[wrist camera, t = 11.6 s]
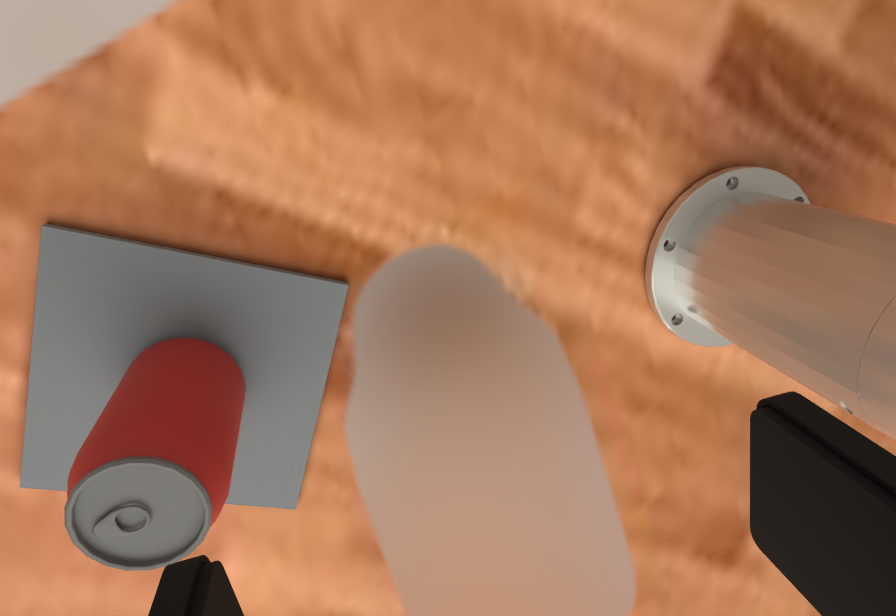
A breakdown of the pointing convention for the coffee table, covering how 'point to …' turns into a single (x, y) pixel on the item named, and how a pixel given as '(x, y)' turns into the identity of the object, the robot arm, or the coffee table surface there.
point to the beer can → (158, 457)
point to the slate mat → (168, 317)
